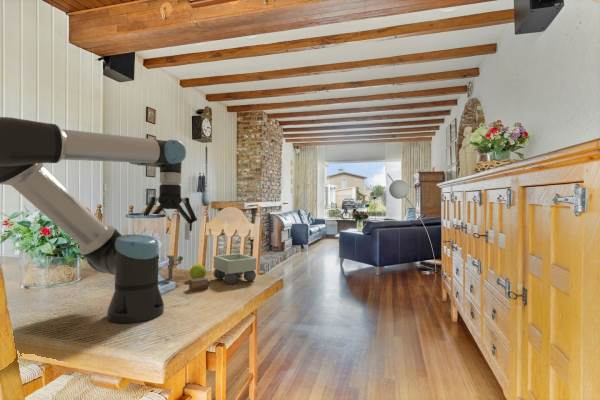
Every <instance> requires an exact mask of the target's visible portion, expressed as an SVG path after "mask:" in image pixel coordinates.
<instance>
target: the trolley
mask: <svg viewBox="0 0 600 400" xmlns="http://www.w3.org/2000/svg"><path fill="white" fill-rule="evenodd" d="M213 269H214V271H213V277H214V278H215V279H218V280H224V282H225V284H228V285H234V284H235V283H236V282H237V280H238V277H242V276H243V278H244V280H245V281H248V282H250V281H251V282H253V281H255V279H256V276H257V274H256V272H255V271H257V257H253V256H250V255H247V254H243V253H229V254H221V255H220V254H219V255H213Z"/></svg>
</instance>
